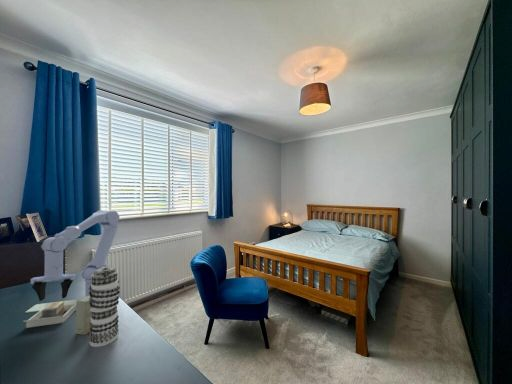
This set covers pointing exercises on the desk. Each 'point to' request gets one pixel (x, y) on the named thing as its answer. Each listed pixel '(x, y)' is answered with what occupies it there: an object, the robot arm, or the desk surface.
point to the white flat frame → (35, 321)
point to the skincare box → (83, 315)
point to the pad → (36, 308)
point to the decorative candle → (104, 306)
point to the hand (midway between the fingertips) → (53, 298)
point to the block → (53, 310)
